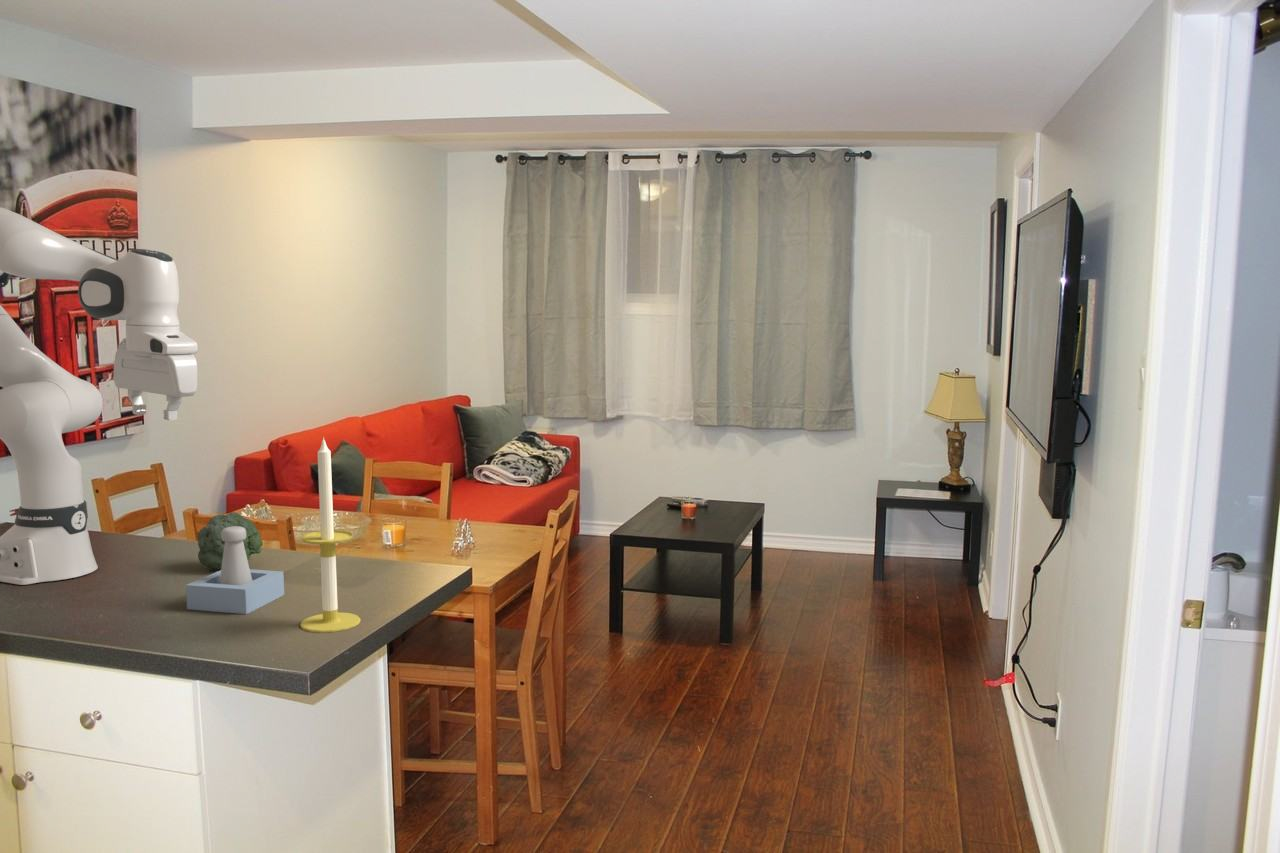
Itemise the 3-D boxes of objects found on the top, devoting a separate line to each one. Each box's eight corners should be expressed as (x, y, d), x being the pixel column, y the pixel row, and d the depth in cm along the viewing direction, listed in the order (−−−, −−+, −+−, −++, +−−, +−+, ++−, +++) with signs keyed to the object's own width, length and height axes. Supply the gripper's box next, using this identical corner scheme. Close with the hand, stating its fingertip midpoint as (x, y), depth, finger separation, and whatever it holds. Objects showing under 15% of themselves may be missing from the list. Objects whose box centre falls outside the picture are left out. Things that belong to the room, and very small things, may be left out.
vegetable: (286, 548, 220) (257, 533, 206) (242, 593, 218) (209, 580, 203) (250, 512, 223) (219, 494, 209) (205, 555, 221) (171, 540, 207)
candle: (287, 627, 175) (279, 438, 171) (327, 611, 184) (320, 431, 180) (334, 635, 171) (326, 442, 167) (372, 618, 180) (366, 434, 176)
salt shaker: (218, 594, 191) (215, 525, 189) (251, 590, 193) (248, 522, 191) (221, 603, 185) (217, 532, 184) (255, 598, 188) (251, 529, 186)
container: (187, 609, 185) (185, 585, 184) (228, 590, 197) (226, 567, 196) (246, 614, 182) (245, 589, 182) (284, 594, 194) (283, 571, 193)
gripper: (103, 337, 188) (105, 412, 190) (171, 345, 178) (172, 424, 180) (135, 337, 194) (137, 409, 196) (203, 344, 183) (204, 421, 185)
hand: (154, 417), depth 188 cm, fingers open, 8 cm apart
